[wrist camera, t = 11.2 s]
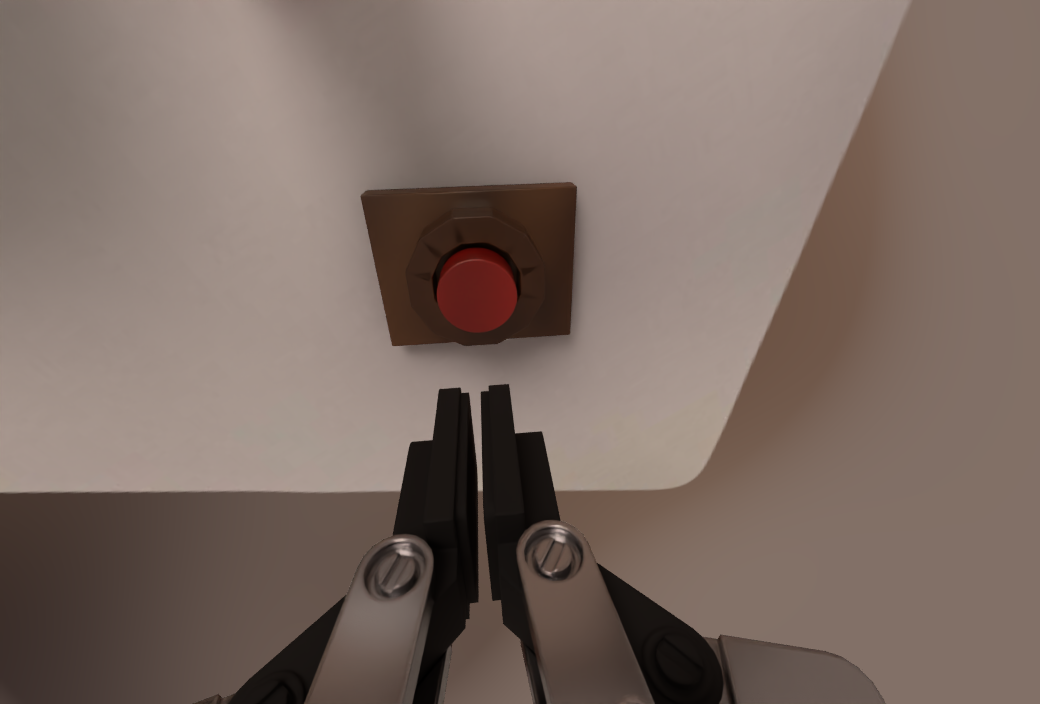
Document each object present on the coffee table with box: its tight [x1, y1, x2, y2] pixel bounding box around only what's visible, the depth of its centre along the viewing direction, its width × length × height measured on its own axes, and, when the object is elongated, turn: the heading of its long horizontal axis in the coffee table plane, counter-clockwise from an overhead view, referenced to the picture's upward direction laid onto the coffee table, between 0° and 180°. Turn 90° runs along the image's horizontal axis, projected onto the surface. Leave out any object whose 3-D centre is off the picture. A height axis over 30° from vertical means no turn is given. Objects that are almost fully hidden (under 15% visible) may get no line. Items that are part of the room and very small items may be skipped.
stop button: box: [437, 247, 517, 333], centre depth 19 cm, size 4×4×2 cm
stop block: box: [361, 182, 577, 346], centre depth 21 cm, size 10×8×3 cm
